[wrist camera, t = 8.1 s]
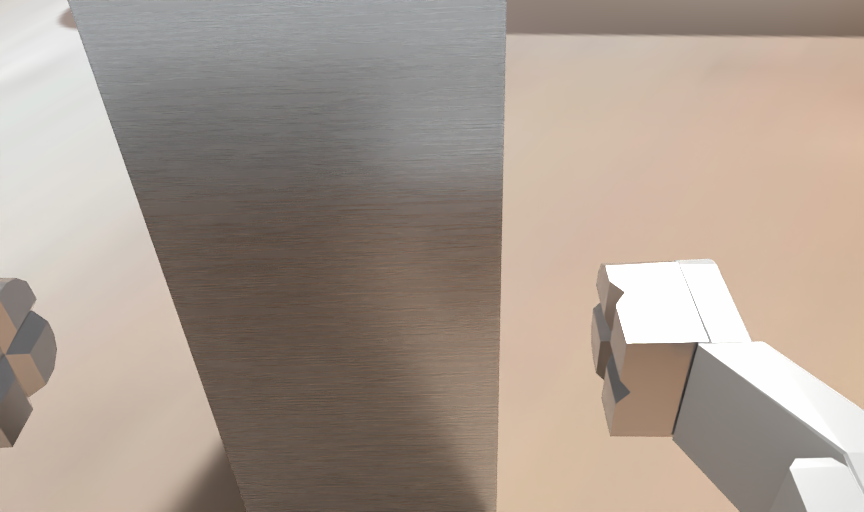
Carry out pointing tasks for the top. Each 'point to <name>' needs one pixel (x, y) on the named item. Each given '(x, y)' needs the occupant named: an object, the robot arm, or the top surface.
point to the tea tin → (325, 232)
